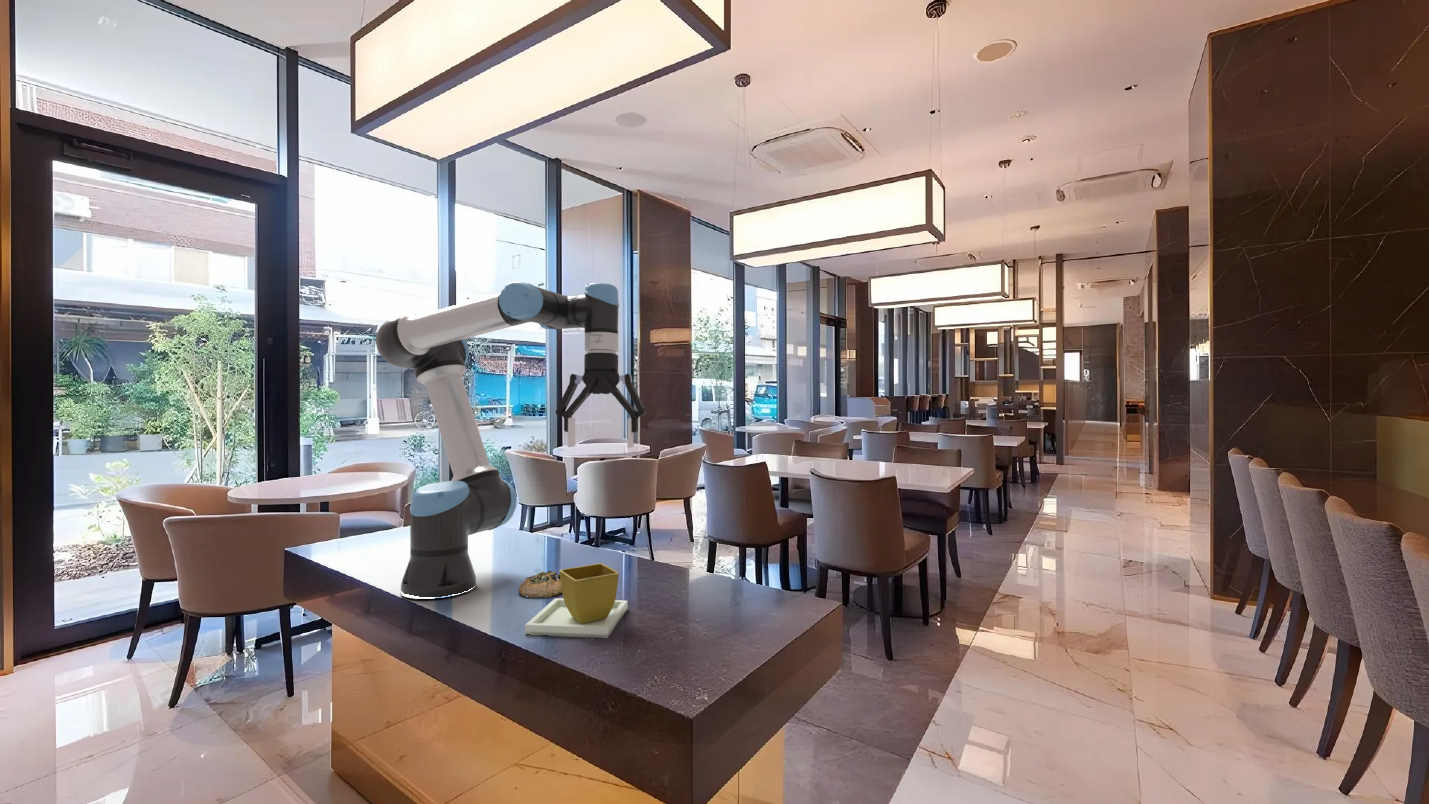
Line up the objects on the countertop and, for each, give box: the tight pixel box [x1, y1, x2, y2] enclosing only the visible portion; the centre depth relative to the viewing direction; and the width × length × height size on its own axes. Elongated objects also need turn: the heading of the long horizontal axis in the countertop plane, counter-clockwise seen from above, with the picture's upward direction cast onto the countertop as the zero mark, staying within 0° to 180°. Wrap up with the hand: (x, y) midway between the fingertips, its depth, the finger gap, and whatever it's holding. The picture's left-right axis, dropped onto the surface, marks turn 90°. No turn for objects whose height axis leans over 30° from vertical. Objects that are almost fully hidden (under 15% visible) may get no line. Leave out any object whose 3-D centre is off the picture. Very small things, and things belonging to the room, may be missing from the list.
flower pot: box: [558, 562, 620, 624], centre depth 113 cm, size 9×9×9 cm
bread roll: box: [518, 570, 562, 598], centre depth 132 cm, size 11×11×5 cm
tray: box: [524, 597, 629, 639], centre depth 113 cm, size 15×15×2 cm
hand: (600, 447), depth 134 cm, fingers open, 13 cm apart
